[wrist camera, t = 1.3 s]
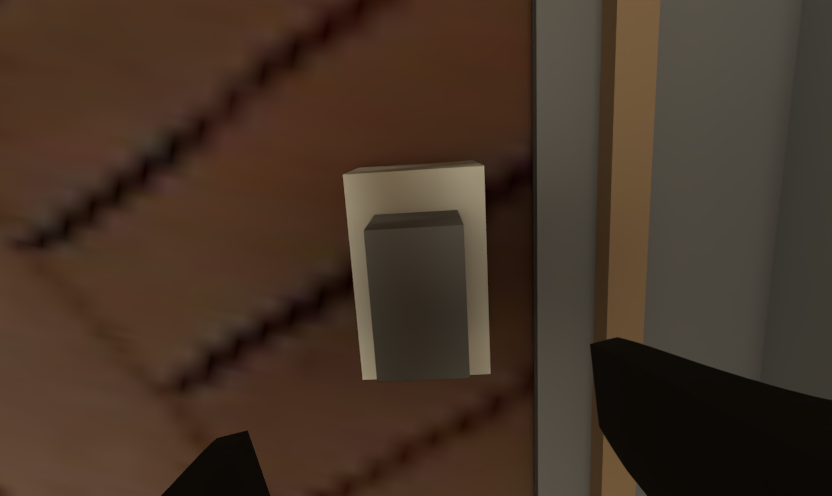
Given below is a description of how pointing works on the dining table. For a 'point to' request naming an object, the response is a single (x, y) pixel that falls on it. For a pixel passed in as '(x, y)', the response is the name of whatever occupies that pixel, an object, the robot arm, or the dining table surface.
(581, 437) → the wall board
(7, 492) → the dining table surface
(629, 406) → the robot arm
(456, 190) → the cabinet block
